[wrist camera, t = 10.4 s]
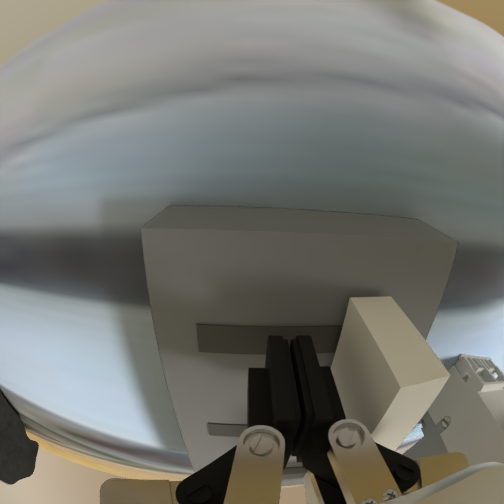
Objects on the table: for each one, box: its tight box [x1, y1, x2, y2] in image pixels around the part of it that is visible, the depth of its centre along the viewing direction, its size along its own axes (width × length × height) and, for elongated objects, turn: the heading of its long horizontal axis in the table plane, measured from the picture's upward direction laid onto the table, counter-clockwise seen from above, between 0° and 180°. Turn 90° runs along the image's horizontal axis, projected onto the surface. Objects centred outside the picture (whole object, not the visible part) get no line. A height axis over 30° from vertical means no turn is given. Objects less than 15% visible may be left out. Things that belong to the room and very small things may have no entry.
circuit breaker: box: [402, 354, 504, 467], centre depth 15 cm, size 8×14×15 cm, turn 161°
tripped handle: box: [331, 296, 450, 451], centre depth 9 cm, size 2×5×5 cm, turn 178°
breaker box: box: [141, 206, 458, 504], centre depth 14 cm, size 14×26×9 cm, turn 178°
